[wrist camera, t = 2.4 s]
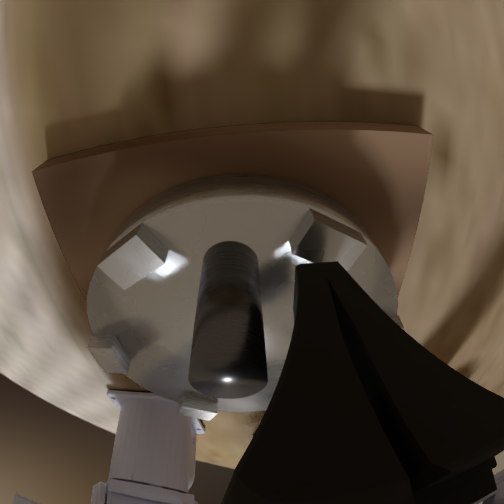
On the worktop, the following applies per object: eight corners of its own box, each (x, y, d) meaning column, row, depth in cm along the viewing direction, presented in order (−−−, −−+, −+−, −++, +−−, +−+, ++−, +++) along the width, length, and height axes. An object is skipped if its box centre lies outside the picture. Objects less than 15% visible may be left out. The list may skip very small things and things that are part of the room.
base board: (364, 359, 23) (369, 375, 21) (142, 373, 23) (139, 390, 22) (417, 126, 12) (435, 136, 11) (47, 160, 12) (30, 173, 11)
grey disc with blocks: (355, 370, 20) (377, 459, 15) (150, 383, 21) (137, 472, 15) (404, 167, 12) (512, 277, 6) (61, 197, 12) (-31, 313, 6)
